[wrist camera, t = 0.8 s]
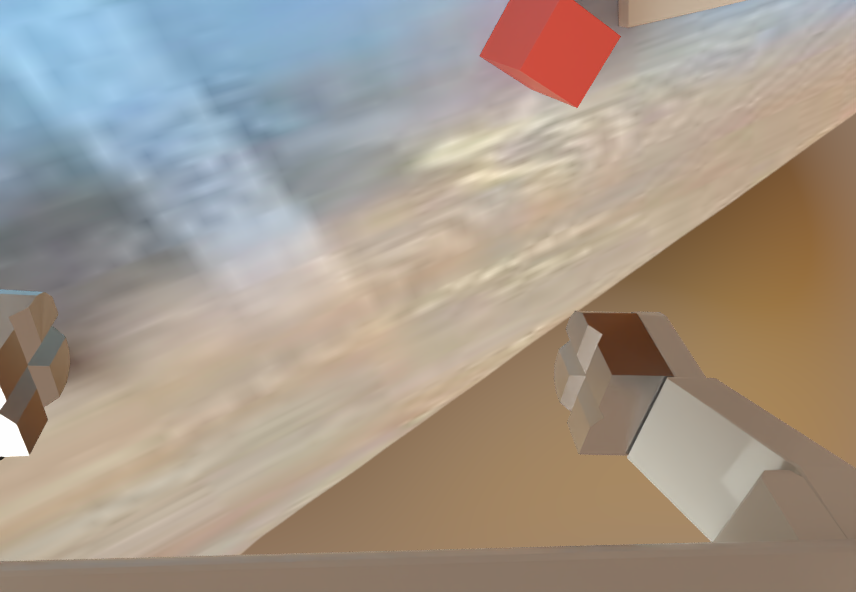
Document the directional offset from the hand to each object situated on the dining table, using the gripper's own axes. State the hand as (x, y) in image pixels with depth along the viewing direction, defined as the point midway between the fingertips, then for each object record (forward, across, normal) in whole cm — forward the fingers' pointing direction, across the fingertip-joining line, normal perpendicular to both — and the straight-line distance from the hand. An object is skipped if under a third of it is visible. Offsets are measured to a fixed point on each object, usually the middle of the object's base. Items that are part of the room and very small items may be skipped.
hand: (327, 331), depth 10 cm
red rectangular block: (+43, -14, +6) cm, 45 cm away
